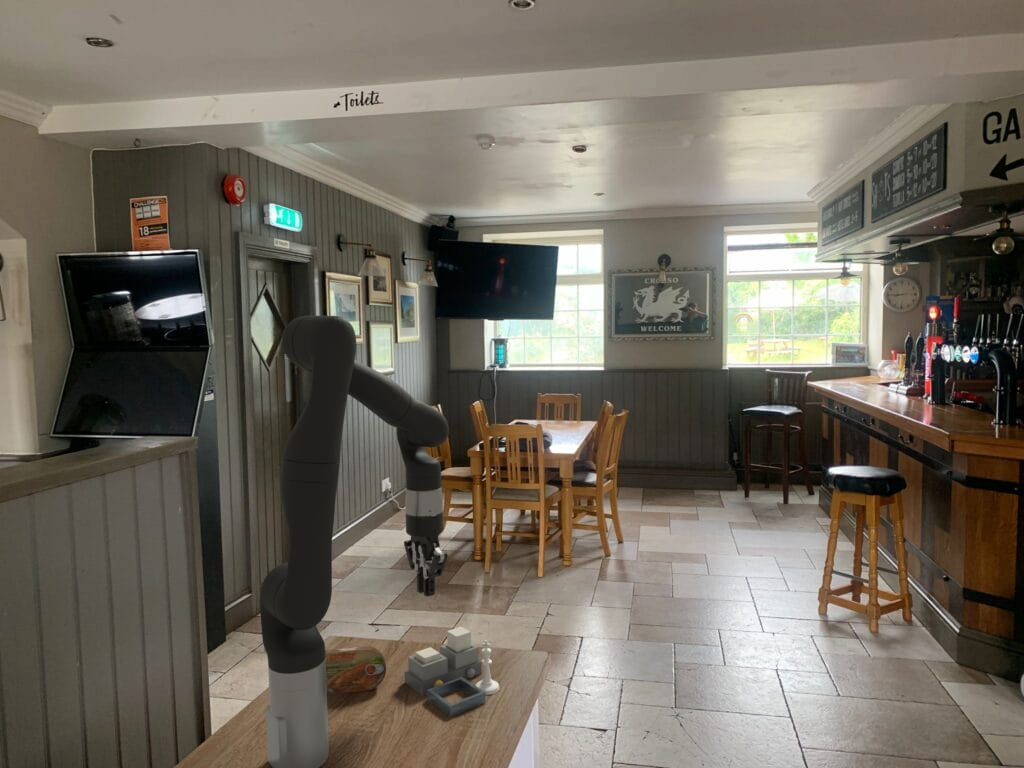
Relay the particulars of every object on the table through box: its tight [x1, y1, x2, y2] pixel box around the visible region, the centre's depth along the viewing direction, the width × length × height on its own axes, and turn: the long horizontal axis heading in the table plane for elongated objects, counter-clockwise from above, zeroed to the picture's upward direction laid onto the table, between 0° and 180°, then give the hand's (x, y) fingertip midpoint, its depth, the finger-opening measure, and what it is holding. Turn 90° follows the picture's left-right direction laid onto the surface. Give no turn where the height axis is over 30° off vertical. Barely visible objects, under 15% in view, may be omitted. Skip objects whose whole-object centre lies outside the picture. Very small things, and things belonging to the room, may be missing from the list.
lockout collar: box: [426, 677, 487, 718], centre depth 139 cm, size 8×8×2 cm
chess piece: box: [474, 639, 500, 696], centre depth 143 cm, size 5×5×10 cm
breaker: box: [446, 626, 472, 652], centre depth 150 cm, size 4×4×3 cm
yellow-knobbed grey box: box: [403, 642, 483, 697], centre depth 148 cm, size 14×8×6 cm, turn 128°
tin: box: [325, 645, 387, 695], centre depth 144 cm, size 15×3×8 cm, turn 99°
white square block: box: [414, 646, 440, 664], centre depth 146 cm, size 4×4×3 cm
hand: (426, 593), depth 145 cm, fingers closed
